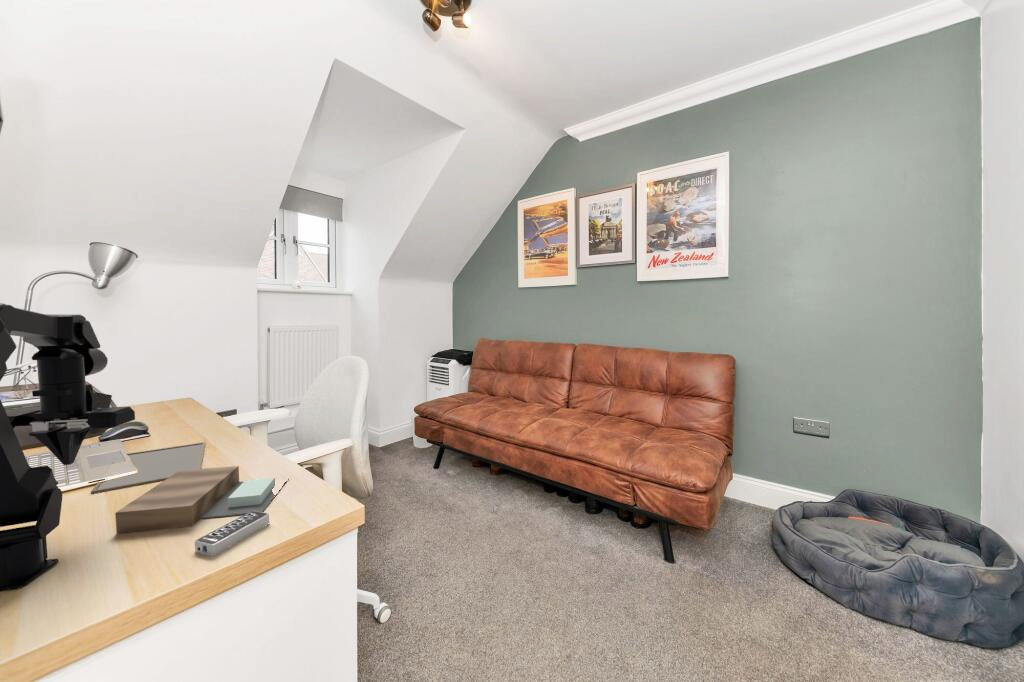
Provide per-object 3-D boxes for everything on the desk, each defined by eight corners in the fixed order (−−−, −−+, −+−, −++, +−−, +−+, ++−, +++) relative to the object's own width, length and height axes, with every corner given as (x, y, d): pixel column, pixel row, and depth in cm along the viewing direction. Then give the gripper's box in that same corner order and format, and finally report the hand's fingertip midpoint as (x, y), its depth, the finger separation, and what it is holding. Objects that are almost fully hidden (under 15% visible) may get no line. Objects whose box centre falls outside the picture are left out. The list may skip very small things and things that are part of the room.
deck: (192, 525, 75) (191, 505, 74) (116, 533, 72) (115, 512, 72) (239, 482, 94) (238, 465, 94) (180, 487, 91) (180, 470, 91)
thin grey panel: (119, 458, 110) (91, 496, 88) (119, 454, 110) (90, 491, 88) (205, 445, 122) (200, 475, 99) (205, 442, 121) (200, 471, 99)
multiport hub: (270, 524, 76) (270, 513, 76) (213, 558, 65) (212, 545, 65) (252, 521, 77) (252, 510, 77) (194, 554, 67) (193, 540, 66)
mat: (262, 513, 80) (262, 511, 80) (199, 519, 77) (199, 517, 77) (289, 478, 96) (289, 477, 96) (238, 483, 94) (238, 481, 94)
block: (227, 498, 81) (228, 507, 81) (260, 494, 83) (260, 504, 83) (245, 480, 90) (245, 488, 90) (274, 477, 91) (274, 486, 91)
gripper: (151, 374, 83) (155, 446, 84) (40, 376, 78) (46, 453, 79) (110, 383, 72) (116, 466, 73) (-21, 387, 67) (-13, 475, 69)
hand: (68, 464), depth 74 cm, fingers closed
